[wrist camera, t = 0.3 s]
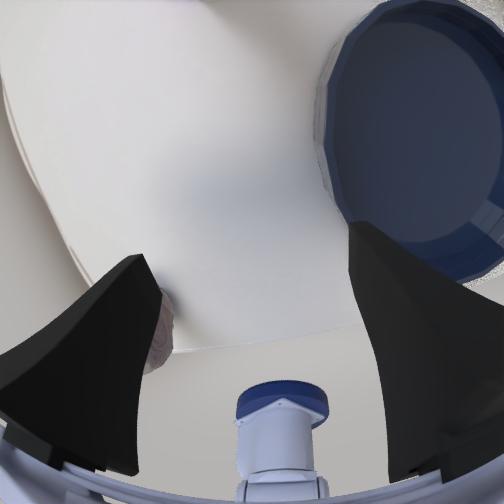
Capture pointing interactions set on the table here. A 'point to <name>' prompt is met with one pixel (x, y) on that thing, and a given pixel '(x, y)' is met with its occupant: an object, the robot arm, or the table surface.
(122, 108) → the table surface
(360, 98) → the round tray
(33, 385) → the robot arm
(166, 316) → the fossil
